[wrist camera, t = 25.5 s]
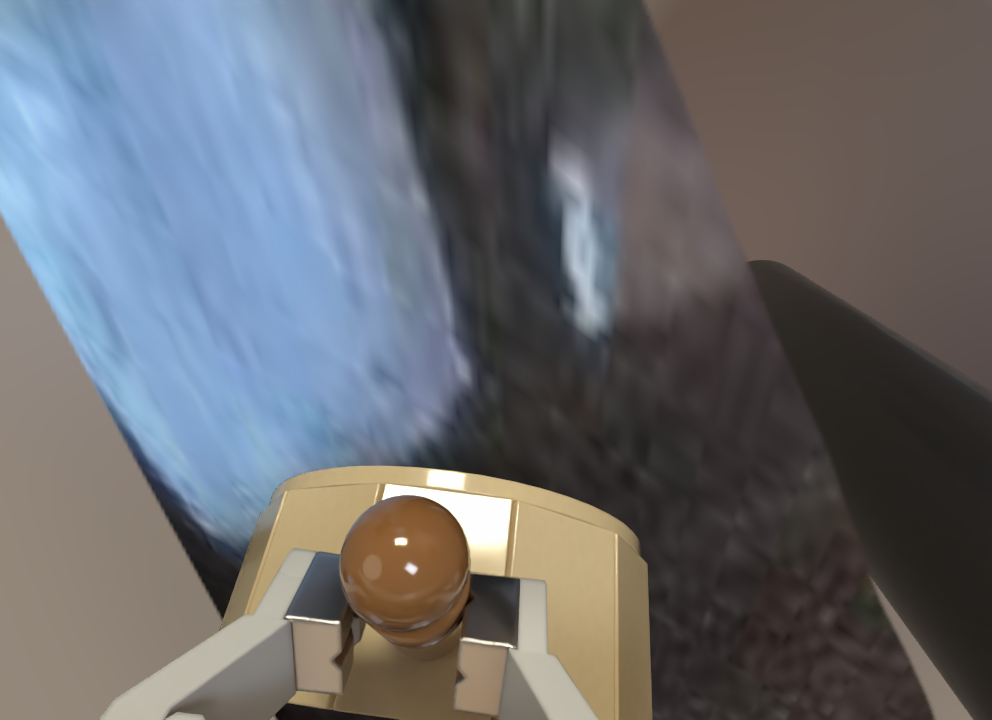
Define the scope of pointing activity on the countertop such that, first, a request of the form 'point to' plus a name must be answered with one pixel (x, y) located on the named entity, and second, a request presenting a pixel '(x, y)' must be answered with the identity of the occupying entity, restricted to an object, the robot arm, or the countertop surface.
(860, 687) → the countertop surface
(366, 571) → the tan scoop with handle
